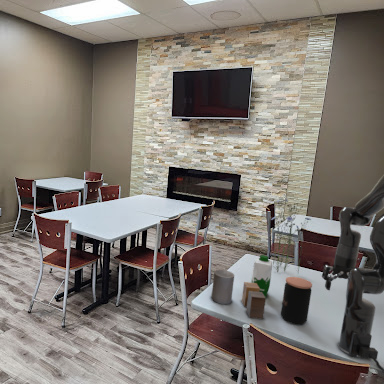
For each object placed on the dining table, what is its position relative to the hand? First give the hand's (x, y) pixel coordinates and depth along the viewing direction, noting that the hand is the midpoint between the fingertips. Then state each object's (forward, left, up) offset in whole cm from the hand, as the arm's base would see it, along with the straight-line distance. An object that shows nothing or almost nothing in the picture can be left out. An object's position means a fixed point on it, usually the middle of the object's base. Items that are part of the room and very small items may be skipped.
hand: (338, 291), depth 142 cm
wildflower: (+68, -1, -18) cm, 70 cm away
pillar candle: (+18, +44, -18) cm, 51 cm away
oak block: (+16, +31, -18) cm, 39 cm away
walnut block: (+6, +31, -18) cm, 36 cm away
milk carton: (+29, +23, -18) cm, 41 cm away
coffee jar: (+6, +14, -18) cm, 23 cm away
